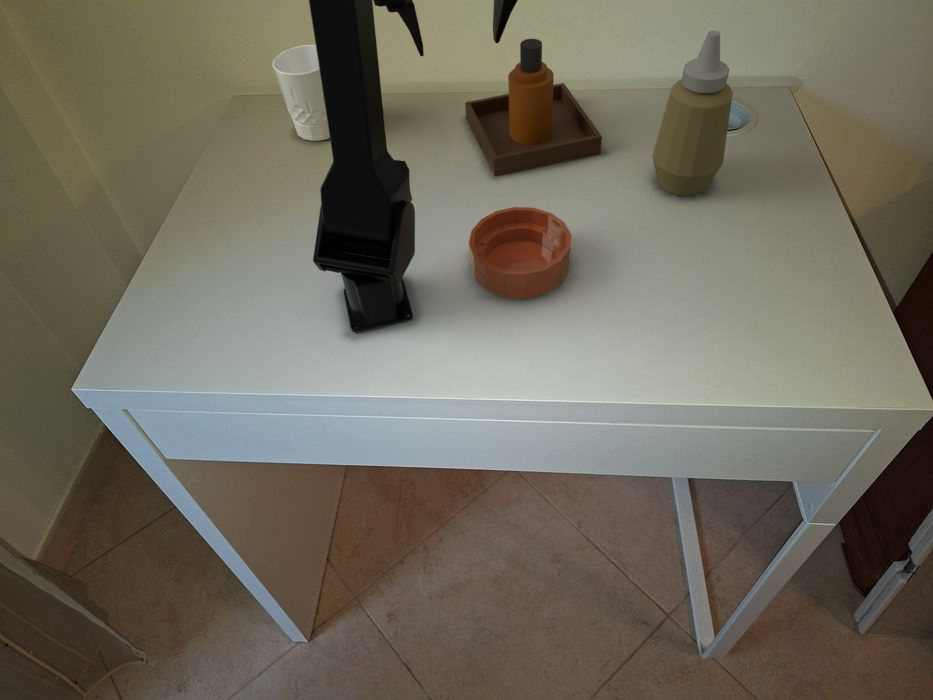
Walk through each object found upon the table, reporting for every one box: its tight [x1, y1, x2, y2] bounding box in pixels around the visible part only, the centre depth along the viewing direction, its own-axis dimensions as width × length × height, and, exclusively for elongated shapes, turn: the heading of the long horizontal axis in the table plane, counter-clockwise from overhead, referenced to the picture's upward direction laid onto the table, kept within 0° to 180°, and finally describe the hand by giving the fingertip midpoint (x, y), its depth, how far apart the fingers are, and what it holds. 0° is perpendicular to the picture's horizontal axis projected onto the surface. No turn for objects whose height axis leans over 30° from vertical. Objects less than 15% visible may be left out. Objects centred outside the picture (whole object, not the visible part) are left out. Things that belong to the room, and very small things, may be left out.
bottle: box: [507, 38, 555, 145], centre depth 85 cm, size 6×6×12 cm
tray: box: [464, 82, 603, 177], centre depth 89 cm, size 14×14×2 cm
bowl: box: [468, 206, 572, 299], centre depth 72 cm, size 11×11×4 cm
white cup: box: [272, 44, 330, 142], centre depth 91 cm, size 8×8×10 cm
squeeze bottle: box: [652, 30, 734, 197], centre depth 75 cm, size 8×8×18 cm
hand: (459, 48), depth 81 cm, fingers open, 9 cm apart
